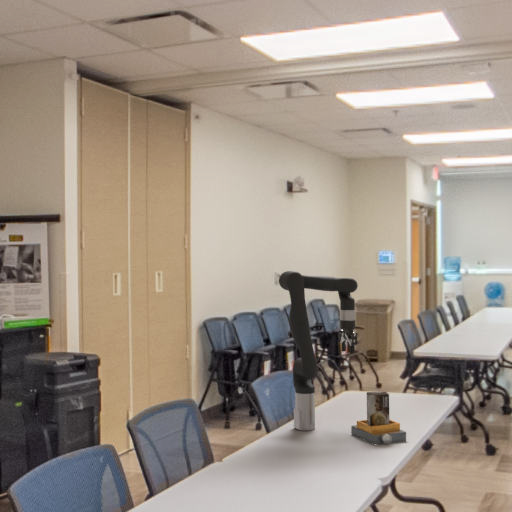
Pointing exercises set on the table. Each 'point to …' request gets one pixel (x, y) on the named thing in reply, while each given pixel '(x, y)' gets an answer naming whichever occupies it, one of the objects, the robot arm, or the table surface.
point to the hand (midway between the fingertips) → (347, 352)
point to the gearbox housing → (379, 432)
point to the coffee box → (377, 408)
